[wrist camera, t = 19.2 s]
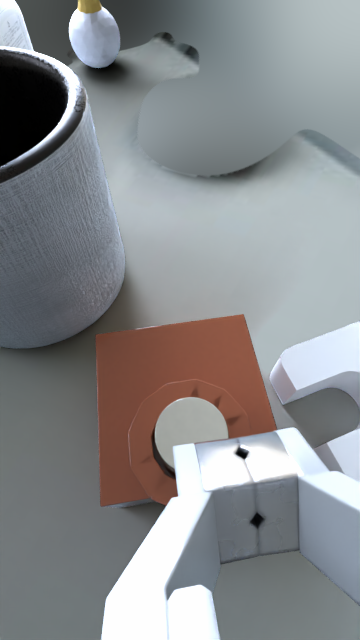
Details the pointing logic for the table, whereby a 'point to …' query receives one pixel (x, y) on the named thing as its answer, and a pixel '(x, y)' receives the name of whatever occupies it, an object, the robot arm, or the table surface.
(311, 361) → the tape dispenser
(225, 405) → the orange push button block
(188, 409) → the round white push button
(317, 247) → the table surface
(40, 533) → the table surface
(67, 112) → the planter
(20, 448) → the table surface
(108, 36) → the perfume bottle
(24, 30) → the white rounded-top slab
